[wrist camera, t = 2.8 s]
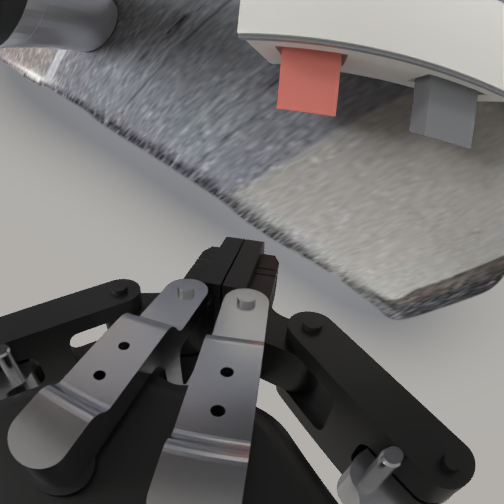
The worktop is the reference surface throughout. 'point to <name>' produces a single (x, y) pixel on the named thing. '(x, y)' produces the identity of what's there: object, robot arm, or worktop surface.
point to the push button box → (388, 37)
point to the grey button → (443, 110)
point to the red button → (309, 80)
